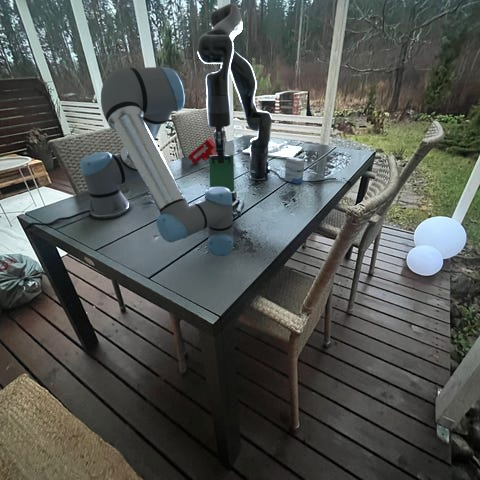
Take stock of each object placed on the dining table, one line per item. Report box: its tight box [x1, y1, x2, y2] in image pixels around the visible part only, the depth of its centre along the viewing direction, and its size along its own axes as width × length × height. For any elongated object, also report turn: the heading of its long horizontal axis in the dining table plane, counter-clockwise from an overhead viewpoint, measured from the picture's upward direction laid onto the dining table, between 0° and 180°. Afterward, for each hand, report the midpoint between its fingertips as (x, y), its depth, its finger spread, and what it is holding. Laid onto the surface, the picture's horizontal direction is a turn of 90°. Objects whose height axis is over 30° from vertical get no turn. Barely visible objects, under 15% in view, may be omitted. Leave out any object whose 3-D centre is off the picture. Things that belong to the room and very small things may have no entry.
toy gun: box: [188, 138, 217, 164], centre depth 168 cm, size 18×4×15 cm
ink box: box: [284, 156, 306, 185], centre depth 140 cm, size 8×5×12 cm, turn 47°
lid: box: [208, 154, 235, 192], centre depth 102 cm, size 14×9×8 cm
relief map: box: [242, 138, 304, 160], centre depth 192 cm, size 27×35×5 cm
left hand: (222, 195), depth 111 cm, fingers closed on chest, 9 cm apart
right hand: (220, 161), depth 99 cm, fingers closed
